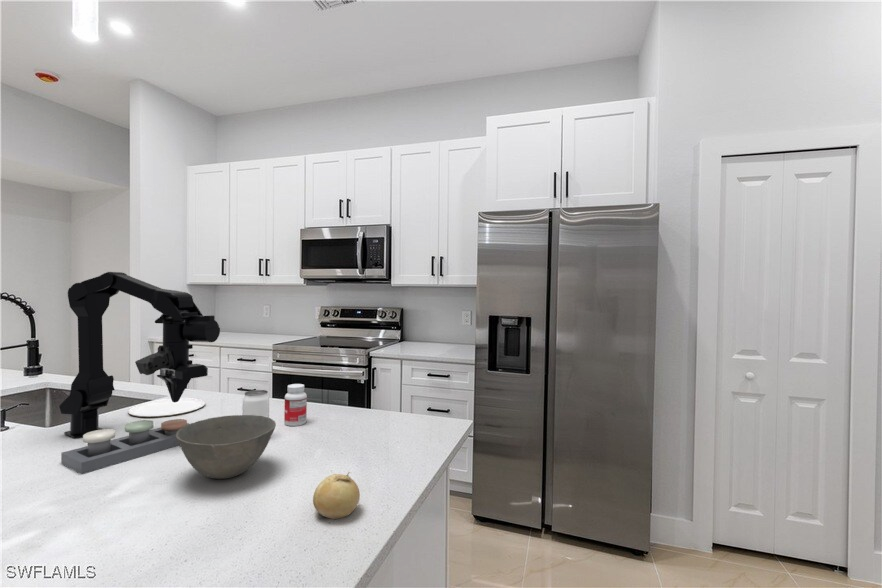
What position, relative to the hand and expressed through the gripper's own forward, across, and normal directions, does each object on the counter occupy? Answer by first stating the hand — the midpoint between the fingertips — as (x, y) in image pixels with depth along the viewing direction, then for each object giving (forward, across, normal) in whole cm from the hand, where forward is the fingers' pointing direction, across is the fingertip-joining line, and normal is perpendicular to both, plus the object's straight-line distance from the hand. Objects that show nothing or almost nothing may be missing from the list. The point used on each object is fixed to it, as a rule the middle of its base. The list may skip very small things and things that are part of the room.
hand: (175, 401), depth 108 cm
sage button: (+8, 0, -8) cm, 11 cm away
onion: (+10, +60, -4) cm, 61 cm away
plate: (+10, -30, +14) cm, 35 cm away
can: (+10, +16, +12) cm, 22 cm away
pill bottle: (+10, +15, +26) cm, 31 cm away
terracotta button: (+9, 0, 0) cm, 9 cm away
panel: (+10, 0, -8) cm, 13 cm away
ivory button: (+8, 0, -16) cm, 18 cm away
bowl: (+10, +30, -5) cm, 32 cm away
